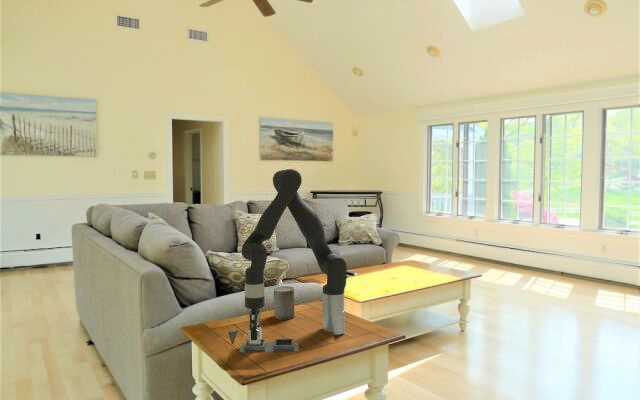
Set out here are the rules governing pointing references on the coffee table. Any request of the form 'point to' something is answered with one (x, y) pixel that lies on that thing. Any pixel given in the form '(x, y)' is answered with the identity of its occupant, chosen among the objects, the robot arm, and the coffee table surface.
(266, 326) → the coffee table surface
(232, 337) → the smartphone
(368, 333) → the coffee table surface
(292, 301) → the pillar candle
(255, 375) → the coffee table surface
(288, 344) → the block holder
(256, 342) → the metal block with knob
